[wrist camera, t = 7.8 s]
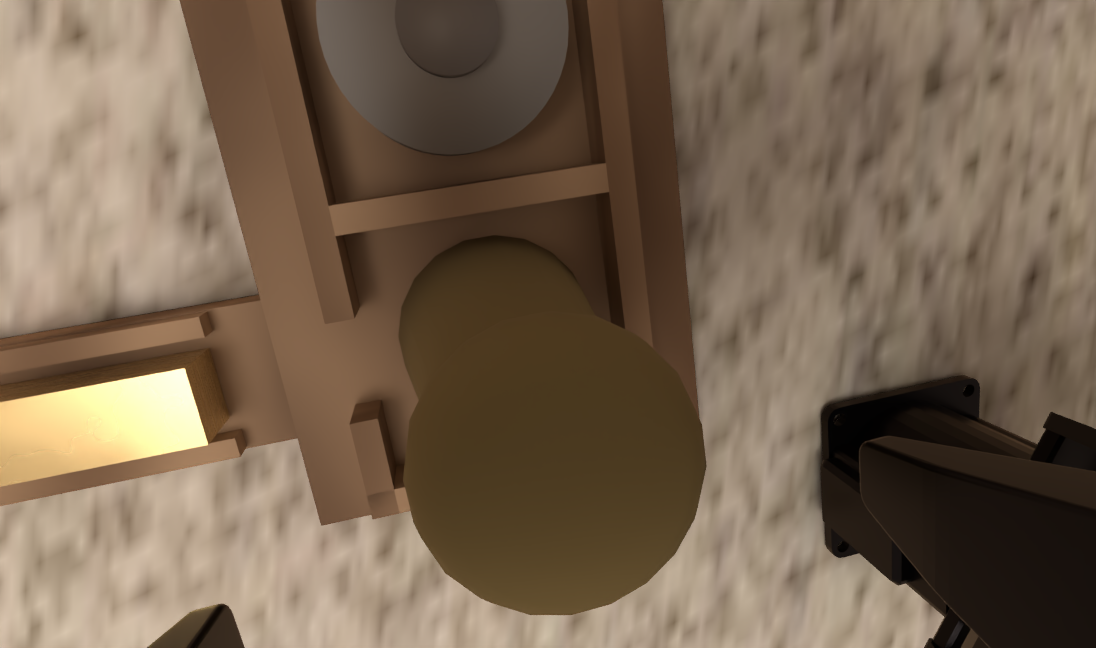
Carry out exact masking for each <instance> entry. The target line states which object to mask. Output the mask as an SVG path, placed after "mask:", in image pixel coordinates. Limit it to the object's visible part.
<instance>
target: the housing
mask: <svg viewBox="0 0 1096 648" xmlns="http://www.w3.org/2000/svg"><path fill="white" fill-rule="evenodd" d="M180 3H181V7H182V11H183V14H184V18H185V22H186V26H187V29H188V33H189V37H190V40H191V44H192V48H193V52H194V55H195V59H196V63H197V66H198V70H199V74H200V77H201V81H202V85H203V89H204V92H205V96H206V100H207V103H208V107H209V111H210V115H211V118H212V122H213V126H214V129H215V133H216V137H217V141H218V144H219V148H220V152H221V155H222V159H223V163H224V167H225V170H226V174H227V178H228V181H229V185H230V189H231V192H232V196H233V200H234V204H235V207H236V211H237V215H238V218H239V222H240V226H241V230H242V233H243V237H244V241H245V244H246V248H247V252H248V256H249V259H250V263H251V267H252V270H253V274H254V278H255V282H256V285H257V289H258V293H259V295H254V296H248V297H242V298H237V299H231V300H225V301H219V302H213V303H207V304H201V305H196V306H190V307H184V308H178V309H172V310H166V311H161V312H155V313H149V314H143V315H137V316H131V317H126V318H120V319H114V320H108V321H102V322H96V323H91V324H85V325H79V326H73V327H67V328H61V329H56V330H50V331H44V332H38V333H32V334H26V335H21V336H15V337H9V338H3V339H0V386H1V385H6V384H12V383H17V382H23V381H28V380H34V379H39V378H45V377H50V376H56V375H62V374H67V373H73V372H78V371H84V370H89V369H95V368H100V367H106V366H111V365H117V364H122V363H128V362H133V361H139V360H144V359H150V358H156V357H161V356H167V355H172V354H178V353H183V352H189V351H194V350H200V349H205V348H210V352H211V355H212V358H213V362H214V365H215V369H216V372H217V375H218V379H219V382H220V385H221V389H222V392H223V395H224V399H225V402H226V406H227V409H228V412H229V416H230V418H229V419H228V420H227V422H226V423H225V424H224V425H223V427H222V428H221V429H220V431H219V432H218V433H217V434H216V436H215V437H214V438H213V440H212V441H211V442H210V443H209V445H205V446H200V447H195V448H190V449H185V450H180V451H175V452H170V453H165V454H160V455H156V456H151V457H146V458H141V459H136V460H131V461H126V462H121V463H116V464H111V465H106V466H101V467H96V468H91V469H86V470H81V471H76V472H71V473H66V474H61V475H56V476H51V477H46V478H41V479H36V480H31V481H27V482H22V483H17V484H12V485H7V486H2V487H0V506H3V505H8V504H13V503H18V502H23V501H27V500H32V499H37V498H42V497H47V496H52V495H57V494H62V493H66V492H71V491H76V490H81V489H86V488H91V487H96V486H100V485H105V484H110V483H115V482H120V481H125V480H130V479H135V478H139V477H144V476H149V475H154V474H159V473H164V472H169V471H173V470H178V469H183V468H188V467H193V466H198V465H203V464H207V463H212V462H217V461H222V460H227V459H232V458H237V457H240V456H241V455H242V453H243V452H244V450H245V449H246V448H251V447H256V446H261V445H266V444H271V443H276V442H281V441H285V440H290V439H295V438H298V441H299V445H300V448H301V452H302V456H303V460H304V463H305V467H306V471H307V474H308V478H309V482H310V486H311V489H312V493H313V497H314V500H315V504H316V508H317V512H318V515H319V519H320V523H321V526H322V525H327V524H331V523H336V522H340V521H345V520H349V519H353V518H358V517H362V516H367V515H372V519H376V518H381V517H385V516H389V515H394V514H398V513H403V512H407V511H411V510H410V506H409V502H408V498H407V494H406V490H405V485H404V481H403V476H404V466H405V456H406V447H407V438H408V429H409V420H410V418H411V416H412V414H413V411H414V409H415V407H416V405H417V403H418V401H419V400H418V397H417V395H416V392H415V390H414V387H413V385H412V382H411V380H410V377H409V374H408V372H407V369H406V367H405V363H404V359H403V355H402V350H401V346H400V342H399V338H398V335H399V326H400V316H401V307H402V304H403V302H404V300H405V298H406V296H407V293H408V291H409V289H410V287H411V285H412V283H413V280H414V278H415V277H416V276H417V275H418V274H419V273H420V272H421V271H422V270H423V269H424V268H425V267H426V266H427V265H428V264H429V262H430V261H431V260H432V259H433V258H434V257H435V256H436V255H438V254H440V253H442V252H444V251H445V250H447V249H449V248H451V247H453V246H455V245H456V244H458V243H460V242H462V241H464V240H470V239H475V238H480V237H486V236H491V235H499V236H506V237H514V238H521V239H526V240H528V241H530V242H532V243H534V244H536V245H538V246H540V247H542V248H544V249H546V250H549V251H551V252H552V253H553V254H554V255H555V256H556V257H557V258H558V259H559V260H560V261H561V262H562V263H564V264H565V265H566V266H567V267H568V268H569V269H570V270H571V271H572V272H573V274H574V276H575V278H576V280H577V281H578V283H579V285H580V287H581V289H582V291H583V293H584V295H585V297H586V299H587V300H588V302H589V304H590V306H591V308H592V310H593V312H594V314H595V316H598V317H600V318H602V319H604V320H606V321H608V322H611V323H613V324H615V325H617V326H619V327H621V328H623V329H626V330H628V331H630V332H632V333H634V334H636V335H637V336H639V337H640V338H642V339H643V340H644V341H646V342H647V343H648V344H649V345H650V346H651V347H652V348H653V349H654V350H655V351H656V352H657V353H658V354H659V355H660V356H661V357H662V358H663V359H664V360H665V361H666V362H667V363H668V364H669V365H670V366H672V367H673V368H674V369H675V370H676V371H677V372H678V374H679V377H680V379H681V381H682V383H683V385H684V387H685V389H686V391H687V393H688V395H689V397H690V399H691V402H692V404H693V406H694V408H695V410H696V412H697V414H698V417H699V411H698V400H697V388H696V377H695V366H694V354H693V343H692V332H691V320H690V309H689V298H688V287H687V275H686V264H685V253H684V241H683V230H682V219H681V207H680V196H679V185H678V173H677V162H676V151H675V139H674V128H673V117H672V105H671V94H670V83H669V72H668V60H667V49H666V38H665V26H664V15H663V4H662V0H180Z"/></svg>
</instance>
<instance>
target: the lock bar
mask: <svg viewBox="0 0 1096 648" xmlns="http://www.w3.org/2000/svg"><path fill="white" fill-rule="evenodd" d="M229 418H230V416H229V412H228V409H227V406H226V402H225V399H224V395H223V392H222V389H221V385H220V382H219V379H218V375H217V372H216V369H215V365H214V362H213V358H212V355H211V352H210V348H205V349H200V350H194V351H189V352H183V353H178V354H172V355H167V356H161V357H156V358H150V359H144V360H139V361H133V362H128V363H122V364H117V365H111V366H106V367H100V368H95V369H89V370H84V371H78V372H73V373H67V374H62V375H56V376H50V377H45V378H39V379H34V380H28V381H23V382H17V383H12V384H6V385H1V386H0V487H2V486H7V485H12V484H17V483H22V482H27V481H31V480H36V479H41V478H46V477H51V476H56V475H61V474H66V473H71V472H76V471H81V470H86V469H91V468H96V467H101V466H106V465H111V464H116V463H121V462H126V461H131V460H136V459H141V458H146V457H151V456H156V455H160V454H165V453H170V452H175V451H180V450H185V449H190V448H195V447H200V446H205V445H209V443H210V442H211V441H212V440H213V438H214V437H215V436H216V434H217V433H218V432H219V431H220V429H221V428H222V427H223V425H224V424H225V423H226V422H227V420H228V419H229Z"/></svg>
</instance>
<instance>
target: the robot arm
mask: <svg viewBox="0 0 1096 648" xmlns="http://www.w3.org/2000/svg"><path fill="white" fill-rule="evenodd" d="M965 386H966V388H965ZM964 388H965V390H964V391H963V389H964ZM979 399H980V386H979V383H978V381H977V380H975V379H973V378H970V377H968V376H965V375H960V376H956V377H951V378H947V379H942V380H938V381H933V382H929V383H925V384H920V385H916V386H911V387H907V388H902V389H898V390H893V391H889V392H884V393H880V394H875V395H871V396H866V397H862V398H857V399H853V400H848V401H844V402H839V403H835V404H832V405H829V406H828V407H827V408H826V409H825V410H824V411H823V413H822V418H821V422H822V451H823V462H822V465H821V487H822V516H823V521H824V522H825V540H826V547H827V549H828V550H829V551H830V552H831V553H832V554H833V555H834V556H836V557H838V558H842V557H847V556H851V555H854V554H858V553H860V554H861V555H862V556H863V557H864V558H865V559H866V560H868V561H869V562H870V563H871V564H872V565H873V566H874V567H876V568H877V569H878V570H879V571H880V572H881V573H882V574H883V575H885V576H886V577H887V578H888V579H889V580H890V581H892V582H893V583H895V584H897V585H902V584H905V583H906V584H907V585H908V586H909V587H911V588H912V589H913V590H914V591H915V592H916V593H918V594H919V595H920V596H921V597H922V598H923V599H925V600H926V601H927V602H928V603H929V604H930V605H931V606H933V607H934V608H935V609H936V610H937V611H938V612H940V613H941V614H942V615H943V616H944V619H943V621H942V623H941V625H940V626H939V628H938V630H937V632H936V634H935V636H934V638H933V639H932V638H929V639H928V641H927V643H926V645H925V647H924V648H1096V429H1094V428H1092V427H1089V426H1087V425H1084V424H1081V423H1079V422H1076V421H1074V420H1071V419H1068V418H1066V417H1063V416H1061V415H1058V414H1056V413H1053V412H1050V414H1049V416H1048V418H1047V420H1046V422H1045V424H1044V425H1043V428H1045V429H1046V430H1045V432H1044V433H1043V435H1042V437H1041V439H1040V441H1039V443H1038V445H1037V444H1035V443H1033V442H1031V441H1029V440H1026V439H1024V438H1022V437H1020V436H1018V435H1015V434H1013V433H1011V432H1009V431H1006V430H1004V429H1002V428H1000V427H998V426H995V425H993V424H991V423H989V422H986V421H984V420H982V419H980V418H979ZM838 414H840V415H839V418H838V420H837V421H835V422H834V418H835V416H836V415H838ZM840 542H842V543H841V544H840V545H839V546H838V544H839V543H840ZM147 648H245V647H244V645H243V642H242V639H241V636H240V633H239V630H238V627H237V624H236V622H235V619H234V616H233V613H232V611H231V609H230V608H229V607H228V606H227V605H225V604H217V605H213V606H209V607H205V608H201V609H197V610H194V611H192V612H190V613H189V614H187V615H186V616H185V617H184V618H182V619H181V620H180V621H179V622H178V623H176V624H175V625H174V626H173V627H172V628H170V629H169V630H168V631H167V632H165V633H164V634H163V635H162V636H161V637H159V638H158V639H157V640H156V641H155V642H153V643H152V644H151V645H150V646H149V647H147Z"/></svg>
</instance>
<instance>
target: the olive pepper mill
mask: <svg viewBox="0 0 1096 648" xmlns="http://www.w3.org/2000/svg"><path fill="white" fill-rule="evenodd" d="M398 338H399V342H400V346H401V350H402V355H403V359H404V363H405V367H406V369H407V372H408V374H409V377H410V380H411V382H412V385H413V387H414V390H415V392H416V395H417V397H418V400H419V401H418V403H417V405H416V407H415V409H414V411H413V414H412V416H411V418H410V420H409V429H408V438H407V447H406V456H405V466H404V476H403V481H404V485H405V490H406V494H407V498H408V502H409V506H410V510H411V514H412V518H413V522H414V524H415V526H416V528H417V530H418V532H419V534H420V536H421V538H422V540H423V541H424V543H425V544H426V546H427V547H428V548H429V550H430V551H431V553H432V554H433V556H434V557H435V559H436V560H437V562H438V563H439V565H440V566H441V567H442V569H443V570H444V572H445V573H446V574H447V575H449V576H450V577H452V578H453V579H454V580H456V581H457V582H459V583H460V584H461V585H463V586H464V587H466V588H467V589H468V590H470V591H471V592H472V593H474V594H475V595H477V596H478V597H479V598H481V599H484V600H486V601H489V602H491V603H494V604H497V605H500V606H503V607H507V608H510V609H513V610H516V611H520V612H523V613H526V614H529V615H573V614H577V613H580V612H584V611H587V610H591V609H595V608H598V607H602V606H605V605H609V604H612V603H613V602H615V601H617V600H618V599H620V598H622V597H624V596H625V595H627V594H629V593H630V592H632V591H634V590H635V589H637V588H639V587H641V586H642V585H644V584H646V583H647V582H648V581H649V580H650V579H651V578H652V577H653V576H654V575H655V574H656V573H657V572H658V571H659V570H660V569H661V568H662V567H663V566H664V565H665V564H666V563H667V562H668V561H669V560H670V559H671V558H672V557H673V555H674V554H675V553H676V551H677V550H678V548H679V546H680V544H681V542H682V540H683V539H684V537H685V535H686V533H687V531H688V530H689V528H690V526H691V524H692V522H693V521H694V519H695V515H696V511H697V508H698V503H699V499H700V494H701V489H702V484H703V480H704V475H705V470H706V458H705V449H704V439H703V430H702V424H701V422H700V419H699V417H698V414H697V412H696V410H695V408H694V406H693V404H692V402H691V399H690V397H689V395H688V393H687V391H686V389H685V387H684V385H683V383H682V381H681V379H680V377H679V374H678V372H677V371H676V370H675V369H674V368H673V367H672V366H670V365H669V364H668V363H667V362H666V361H665V360H664V359H663V358H662V357H661V356H660V355H659V354H658V353H657V352H656V351H655V350H654V349H653V348H652V347H651V346H650V345H649V344H648V343H647V342H646V341H644V340H643V339H642V338H640V337H639V336H637V335H636V334H634V333H632V332H630V331H628V330H626V329H623V328H621V327H619V326H617V325H615V324H613V323H611V322H608V321H606V320H604V319H602V318H600V317H598V316H595V314H594V312H593V310H592V308H591V306H590V304H589V302H588V300H587V299H586V297H585V295H584V293H583V291H582V289H581V287H580V285H579V283H578V281H577V280H576V278H575V276H574V274H573V272H572V271H571V270H570V269H569V268H568V267H567V266H566V265H565V264H564V263H562V262H561V261H560V260H559V259H558V258H557V257H556V256H555V255H554V254H553V253H552V252H551V251H549V250H546V249H544V248H542V247H540V246H538V245H536V244H534V243H532V242H530V241H528V240H526V239H521V238H514V237H506V236H499V235H491V236H486V237H480V238H475V239H470V240H464V241H462V242H460V243H458V244H456V245H455V246H453V247H451V248H449V249H447V250H445V251H444V252H442V253H440V254H438V255H436V256H435V257H434V258H433V259H432V260H431V261H430V262H429V264H428V265H427V266H426V267H425V268H424V269H423V270H422V271H421V272H420V273H419V274H418V275H417V276H416V277H415V278H414V280H413V283H412V285H411V287H410V289H409V291H408V293H407V296H406V298H405V300H404V302H403V304H402V307H401V316H400V326H399V335H398Z"/></svg>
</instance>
